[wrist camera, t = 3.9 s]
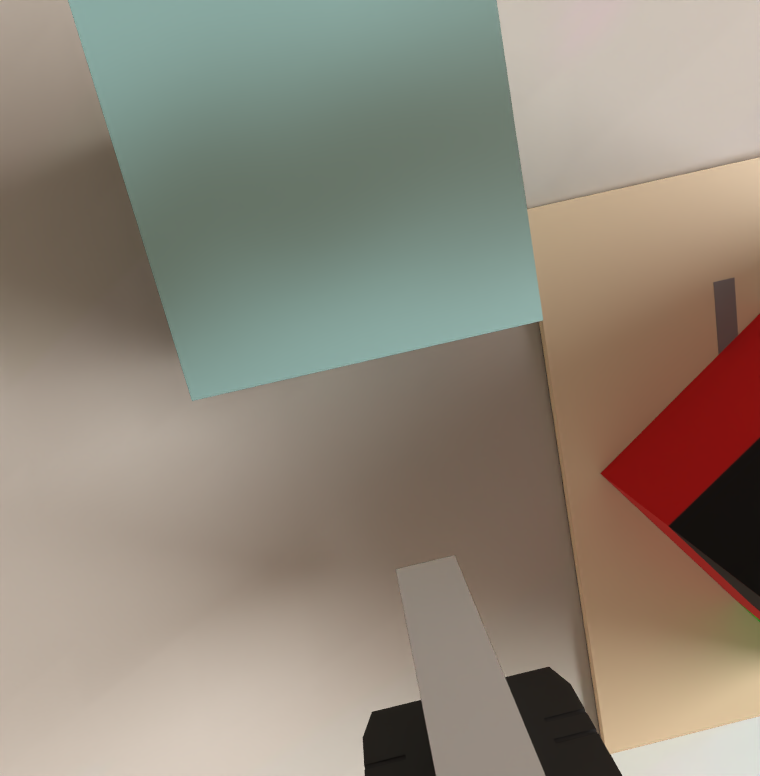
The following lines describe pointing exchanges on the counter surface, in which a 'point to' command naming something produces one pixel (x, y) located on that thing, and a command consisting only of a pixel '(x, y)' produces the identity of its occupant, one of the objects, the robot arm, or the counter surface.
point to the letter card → (631, 416)
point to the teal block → (316, 176)
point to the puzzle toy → (706, 469)
